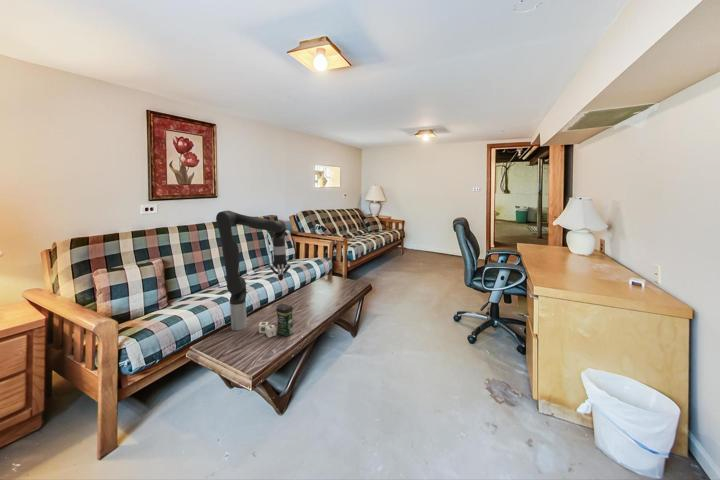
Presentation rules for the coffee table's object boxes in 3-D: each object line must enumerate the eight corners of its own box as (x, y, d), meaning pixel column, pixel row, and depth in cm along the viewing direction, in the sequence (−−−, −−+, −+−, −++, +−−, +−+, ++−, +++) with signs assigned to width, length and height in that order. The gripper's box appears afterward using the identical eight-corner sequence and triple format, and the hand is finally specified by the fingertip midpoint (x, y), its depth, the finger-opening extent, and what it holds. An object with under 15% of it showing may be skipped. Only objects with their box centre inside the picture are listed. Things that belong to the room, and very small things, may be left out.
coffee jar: (275, 334, 180) (273, 305, 176) (283, 328, 186) (282, 301, 183) (287, 337, 175) (285, 308, 172) (295, 332, 182) (294, 304, 179)
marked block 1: (259, 333, 180) (258, 325, 179) (260, 329, 185) (260, 321, 184) (267, 332, 181) (267, 325, 180) (268, 329, 186) (268, 321, 185)
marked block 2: (268, 338, 174) (268, 330, 173) (265, 334, 179) (265, 326, 179) (277, 336, 177) (276, 328, 176) (273, 332, 182) (273, 324, 181)
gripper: (269, 255, 172) (270, 283, 175) (291, 253, 177) (292, 280, 180) (267, 252, 179) (269, 279, 182) (289, 250, 184) (290, 277, 187)
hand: (280, 280), depth 181 cm, fingers closed
